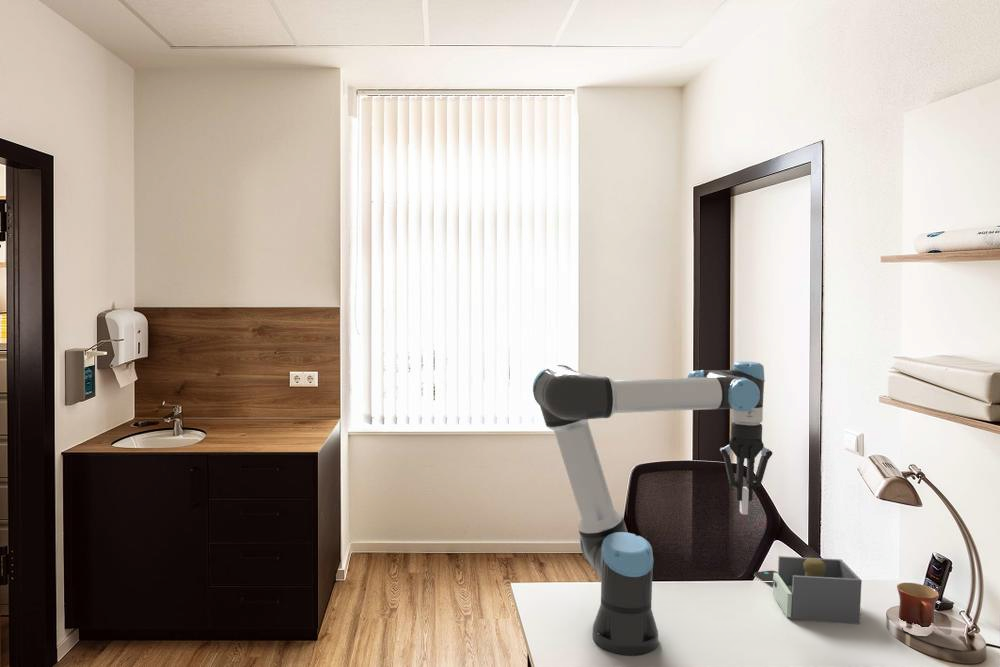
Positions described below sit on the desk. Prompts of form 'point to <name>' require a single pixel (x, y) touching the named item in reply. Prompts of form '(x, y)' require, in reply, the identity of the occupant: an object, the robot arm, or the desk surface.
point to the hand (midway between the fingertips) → (743, 512)
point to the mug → (917, 603)
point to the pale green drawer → (782, 594)
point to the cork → (814, 567)
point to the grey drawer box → (822, 591)
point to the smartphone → (765, 576)
